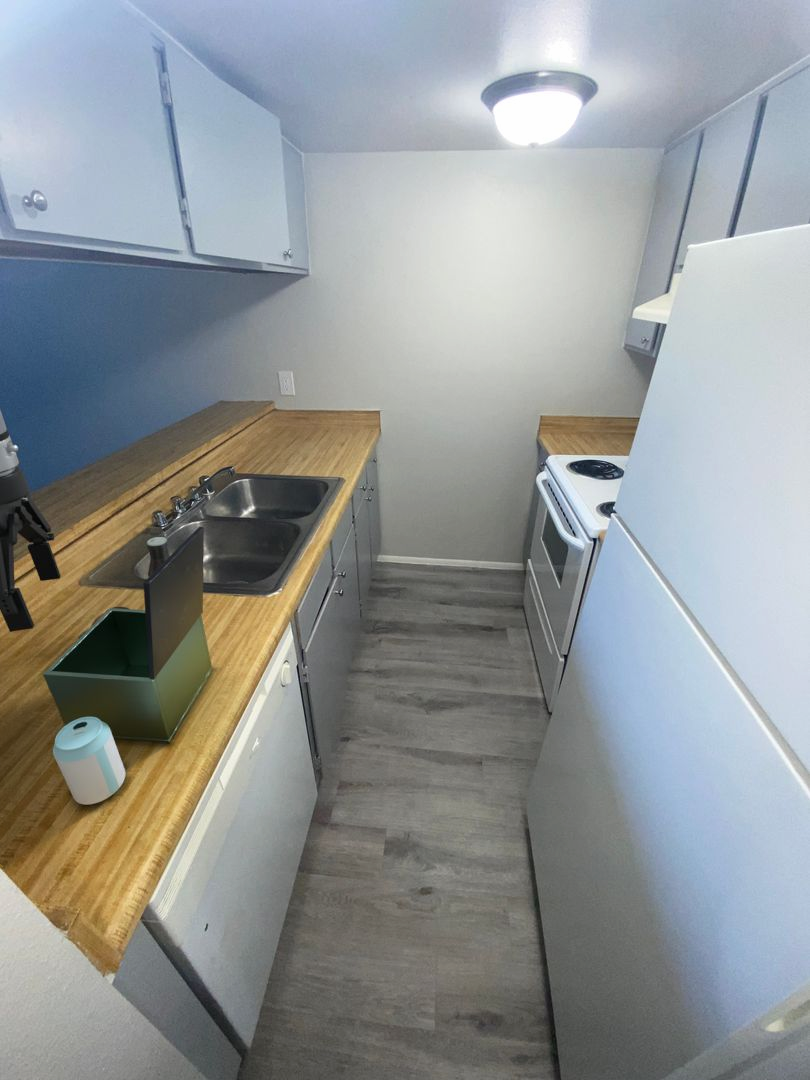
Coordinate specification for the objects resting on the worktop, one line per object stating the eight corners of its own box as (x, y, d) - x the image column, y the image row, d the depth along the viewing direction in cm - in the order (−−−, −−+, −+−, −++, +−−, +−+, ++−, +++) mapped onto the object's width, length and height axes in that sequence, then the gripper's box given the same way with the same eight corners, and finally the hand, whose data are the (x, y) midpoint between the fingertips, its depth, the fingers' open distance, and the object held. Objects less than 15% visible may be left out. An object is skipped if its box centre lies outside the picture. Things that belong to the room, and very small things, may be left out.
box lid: (143, 582, 65) (148, 583, 65) (199, 526, 80) (204, 527, 80) (148, 679, 73) (154, 680, 73) (198, 611, 89) (202, 612, 89)
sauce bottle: (154, 612, 112) (135, 538, 102) (181, 602, 115) (165, 530, 106) (163, 626, 107) (144, 550, 98) (191, 615, 111) (175, 541, 102)
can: (63, 794, 72) (37, 741, 66) (106, 758, 77) (86, 706, 72) (94, 815, 69) (69, 761, 63) (136, 776, 75) (118, 723, 69)
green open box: (69, 736, 81) (42, 674, 74) (128, 664, 96) (110, 607, 90) (170, 743, 80) (152, 681, 73) (212, 670, 96) (201, 613, 89)
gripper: (-20, 505, 54) (40, 649, 64) (47, 443, 74) (84, 559, 84) (-103, 511, 51) (-28, 660, 61) (-11, 445, 72) (35, 564, 82)
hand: (37, 601), depth 73 cm, fingers open, 13 cm apart
